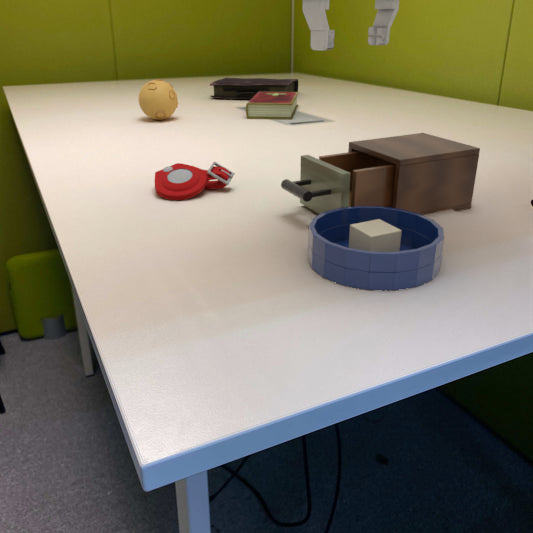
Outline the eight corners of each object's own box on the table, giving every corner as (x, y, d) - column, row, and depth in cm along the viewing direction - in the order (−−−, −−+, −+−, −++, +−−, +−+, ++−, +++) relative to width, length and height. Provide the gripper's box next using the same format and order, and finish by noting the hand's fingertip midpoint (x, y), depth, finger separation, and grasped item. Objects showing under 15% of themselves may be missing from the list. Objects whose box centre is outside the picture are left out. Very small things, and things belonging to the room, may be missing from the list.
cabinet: (394, 223, 73) (400, 159, 69) (345, 199, 82) (348, 141, 79) (470, 208, 78) (480, 148, 74) (416, 186, 88) (423, 132, 84)
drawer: (311, 231, 68) (312, 178, 65) (273, 207, 76) (273, 159, 74) (417, 211, 75) (423, 161, 72) (371, 190, 83) (375, 145, 80)
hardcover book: (245, 118, 143) (245, 101, 141) (257, 105, 162) (257, 90, 160) (291, 119, 141) (291, 102, 140) (298, 105, 160) (298, 90, 158)
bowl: (384, 232, 70) (387, 199, 68) (467, 277, 58) (474, 238, 56) (286, 253, 64) (286, 217, 62) (356, 307, 53) (359, 265, 51)
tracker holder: (169, 198, 80) (138, 168, 86) (175, 221, 83) (144, 191, 89) (238, 166, 84) (204, 140, 90) (241, 190, 87) (207, 163, 93)
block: (376, 251, 63) (379, 218, 62) (398, 264, 60) (402, 230, 59) (347, 257, 62) (349, 224, 60) (368, 271, 59) (371, 236, 57)
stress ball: (137, 123, 138) (133, 81, 134) (144, 116, 147) (140, 77, 143) (177, 122, 138) (174, 81, 134) (181, 115, 147) (178, 76, 143)
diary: (226, 91, 189) (226, 76, 187) (298, 93, 184) (298, 77, 182) (209, 99, 173) (208, 83, 171) (287, 101, 167) (287, 84, 165)
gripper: (313, -141, 41) (308, 55, 47) (446, -107, 54) (429, 43, 60) (254, -128, 45) (257, 52, 51) (391, -99, 58) (381, 41, 64)
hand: (351, 47), depth 56 cm, fingers open, 8 cm apart
